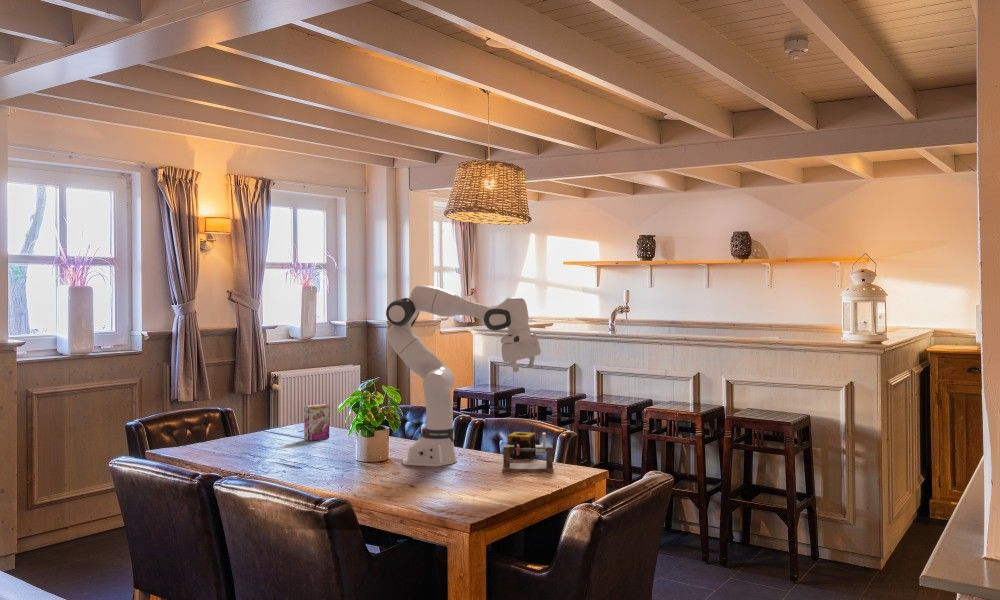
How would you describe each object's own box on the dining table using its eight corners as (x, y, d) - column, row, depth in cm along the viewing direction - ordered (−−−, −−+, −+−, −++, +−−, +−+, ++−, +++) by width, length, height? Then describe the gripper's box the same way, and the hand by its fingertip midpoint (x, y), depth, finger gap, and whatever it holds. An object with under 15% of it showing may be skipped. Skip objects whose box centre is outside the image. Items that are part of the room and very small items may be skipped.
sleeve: (535, 454, 315) (535, 434, 315) (535, 452, 318) (535, 432, 318) (545, 454, 315) (545, 434, 315) (545, 453, 318) (545, 432, 318)
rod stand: (502, 472, 313) (502, 447, 313) (503, 466, 323) (503, 442, 322) (553, 472, 312) (553, 447, 311) (553, 467, 322) (553, 442, 321)
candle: (529, 460, 334) (529, 436, 334) (507, 459, 337) (506, 435, 337) (536, 455, 344) (536, 432, 343) (514, 454, 347) (514, 431, 347)
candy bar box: (308, 441, 376) (308, 407, 376) (303, 440, 380) (303, 405, 380) (330, 438, 383) (329, 404, 383) (325, 437, 387) (325, 403, 387)
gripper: (530, 333, 335) (534, 365, 336) (497, 339, 320) (501, 374, 321) (541, 332, 331) (545, 365, 331) (509, 339, 316) (513, 374, 316)
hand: (523, 369), depth 326 cm, fingers open, 8 cm apart
